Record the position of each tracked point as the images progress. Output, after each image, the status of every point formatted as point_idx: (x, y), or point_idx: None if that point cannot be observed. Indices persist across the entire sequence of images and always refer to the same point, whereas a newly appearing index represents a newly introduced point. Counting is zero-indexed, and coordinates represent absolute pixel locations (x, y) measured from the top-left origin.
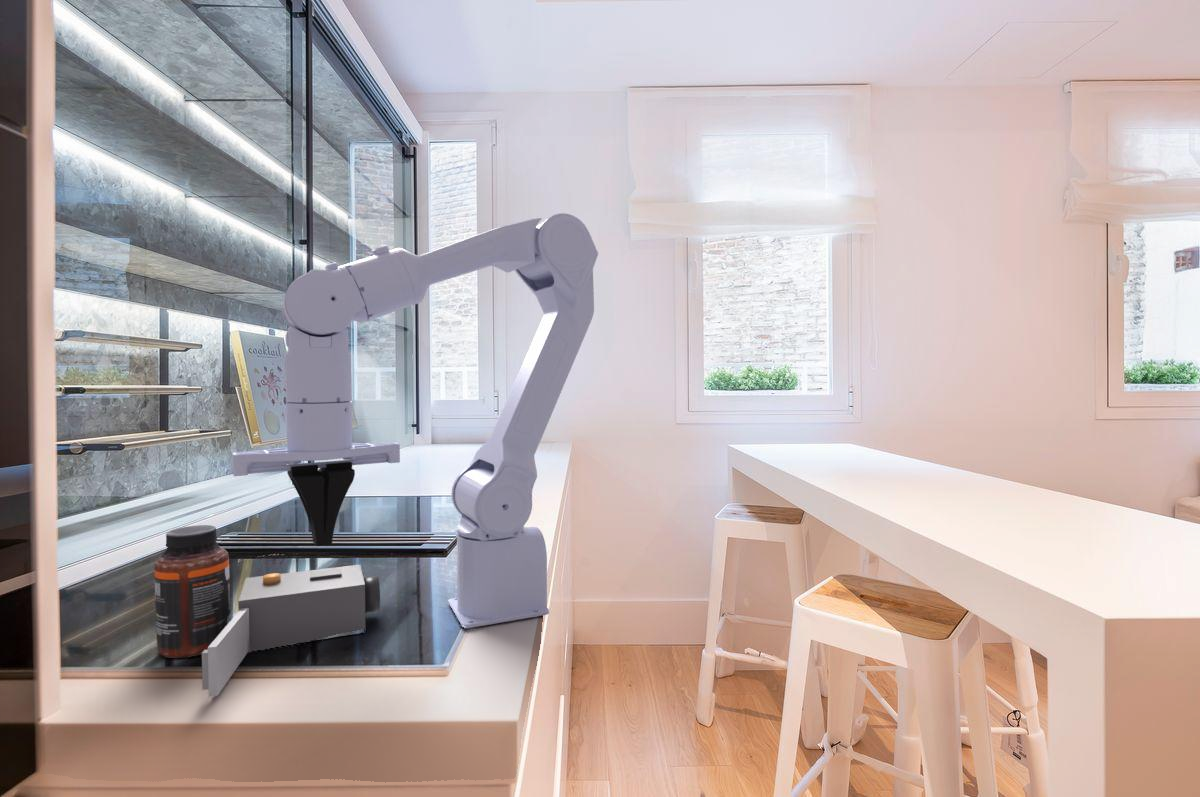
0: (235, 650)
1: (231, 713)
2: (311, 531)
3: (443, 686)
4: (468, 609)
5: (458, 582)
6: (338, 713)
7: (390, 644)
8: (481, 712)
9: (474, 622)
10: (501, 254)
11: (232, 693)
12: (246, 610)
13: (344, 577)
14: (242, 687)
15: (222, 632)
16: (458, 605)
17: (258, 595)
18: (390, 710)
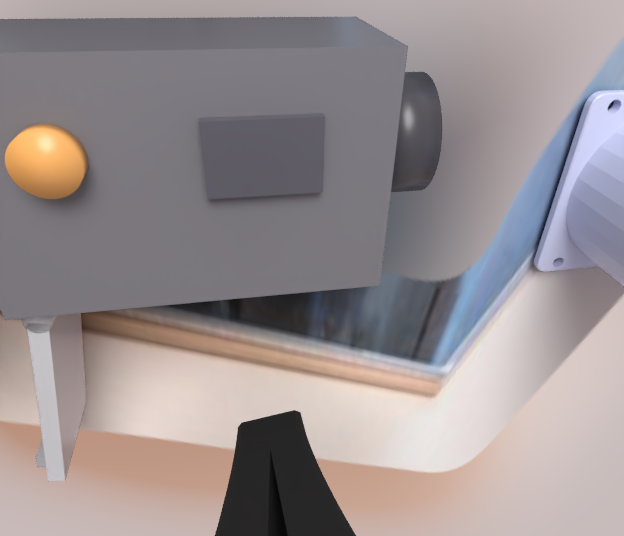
0: (72, 353)
1: (126, 424)
2: (234, 460)
3: (419, 418)
4: (580, 244)
5: (621, 236)
6: None
7: (383, 279)
8: (436, 467)
9: (562, 266)
10: None
11: (105, 378)
12: (49, 329)
13: (328, 200)
14: (116, 364)
15: (46, 432)
16: (579, 202)
17: (56, 292)
18: (341, 450)
